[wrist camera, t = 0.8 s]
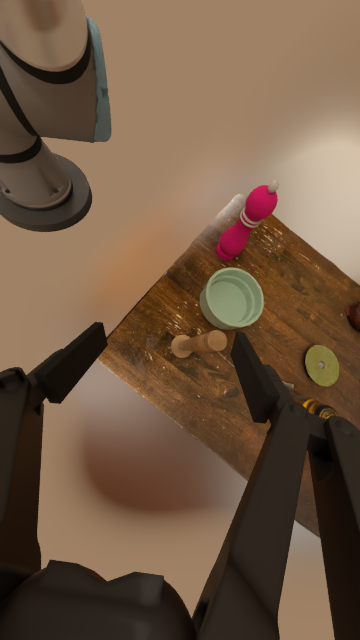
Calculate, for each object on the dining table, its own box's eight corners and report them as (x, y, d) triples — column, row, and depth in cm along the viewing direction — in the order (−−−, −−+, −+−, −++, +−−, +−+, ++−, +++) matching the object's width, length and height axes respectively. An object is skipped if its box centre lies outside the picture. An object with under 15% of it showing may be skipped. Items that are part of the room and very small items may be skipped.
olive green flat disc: (335, 383, 44) (343, 385, 42) (303, 386, 42) (310, 387, 40) (327, 345, 46) (334, 344, 44) (296, 345, 44) (302, 345, 42)
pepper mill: (227, 238, 48) (278, 162, 28) (240, 256, 47) (300, 191, 28) (209, 247, 46) (251, 171, 27) (222, 266, 45) (274, 203, 26)
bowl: (193, 282, 42) (199, 271, 37) (240, 275, 46) (253, 264, 40) (206, 335, 40) (215, 332, 34) (255, 324, 43) (271, 320, 38)
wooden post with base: (168, 337, 38) (188, 321, 17) (189, 333, 39) (232, 312, 18) (173, 360, 37) (200, 372, 16) (194, 354, 38) (246, 359, 17)
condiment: (265, 411, 39) (314, 437, 27) (269, 377, 41) (315, 388, 29) (290, 417, 40) (347, 445, 28) (292, 384, 42) (346, 396, 30)
